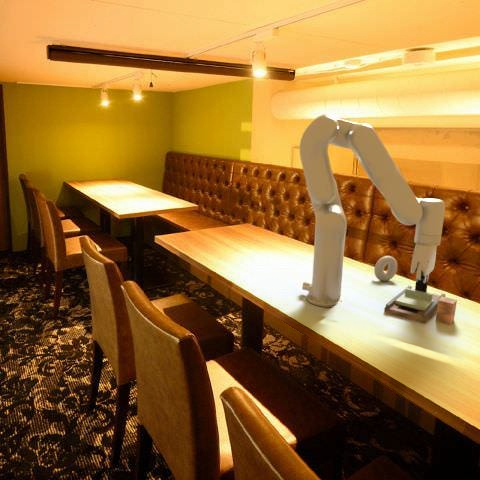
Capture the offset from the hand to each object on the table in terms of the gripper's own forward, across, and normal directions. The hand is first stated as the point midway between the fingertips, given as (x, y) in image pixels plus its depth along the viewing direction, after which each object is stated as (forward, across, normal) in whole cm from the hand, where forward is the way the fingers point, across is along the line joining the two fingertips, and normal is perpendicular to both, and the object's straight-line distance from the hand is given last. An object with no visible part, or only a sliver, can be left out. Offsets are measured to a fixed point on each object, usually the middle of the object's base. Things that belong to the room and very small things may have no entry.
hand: (420, 293), depth 141 cm
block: (+5, +9, +10) cm, 14 cm away
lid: (+2, +6, 0) cm, 6 cm away
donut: (+5, -18, -18) cm, 25 cm away
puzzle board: (+5, +4, 0) cm, 6 cm away
